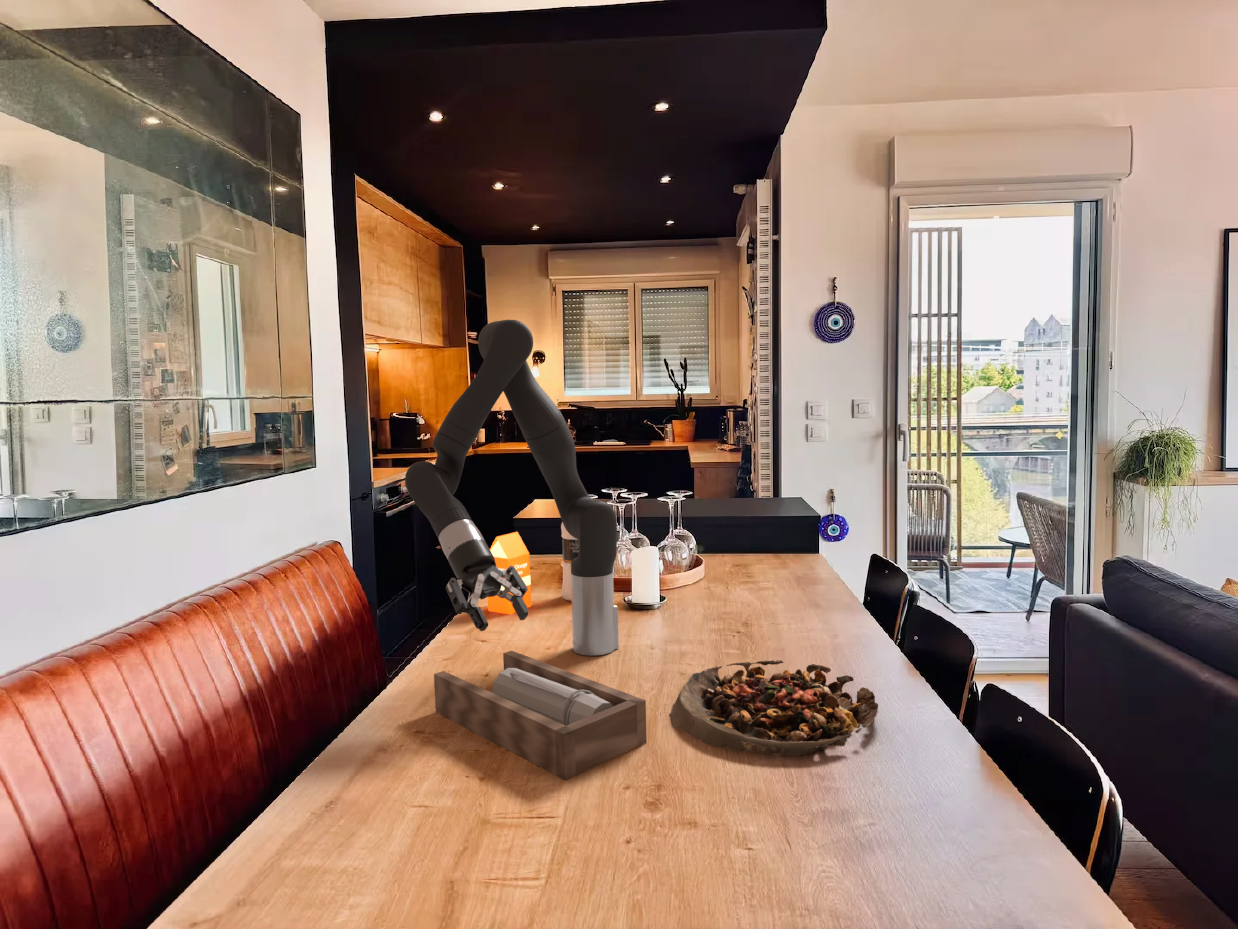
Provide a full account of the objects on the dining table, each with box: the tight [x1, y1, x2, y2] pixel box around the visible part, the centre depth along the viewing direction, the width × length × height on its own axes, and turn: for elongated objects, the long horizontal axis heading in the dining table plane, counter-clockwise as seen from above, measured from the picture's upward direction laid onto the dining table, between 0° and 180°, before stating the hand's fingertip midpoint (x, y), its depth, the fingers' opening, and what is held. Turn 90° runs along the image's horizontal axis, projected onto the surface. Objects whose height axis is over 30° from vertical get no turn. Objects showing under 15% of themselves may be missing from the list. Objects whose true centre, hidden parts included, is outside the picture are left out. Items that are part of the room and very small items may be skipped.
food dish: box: [668, 659, 879, 757], centre depth 134 cm, size 35×33×8 cm
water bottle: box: [491, 668, 613, 726], centre depth 132 cm, size 9×8×25 cm
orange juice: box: [487, 531, 532, 615], centre depth 205 cm, size 8×9×20 cm
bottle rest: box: [433, 650, 647, 781], centre depth 132 cm, size 36×17×7 cm, turn 44°
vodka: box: [560, 521, 580, 602], centre depth 214 cm, size 9×9×30 cm
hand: (505, 623), depth 136 cm, fingers open, 8 cm apart
